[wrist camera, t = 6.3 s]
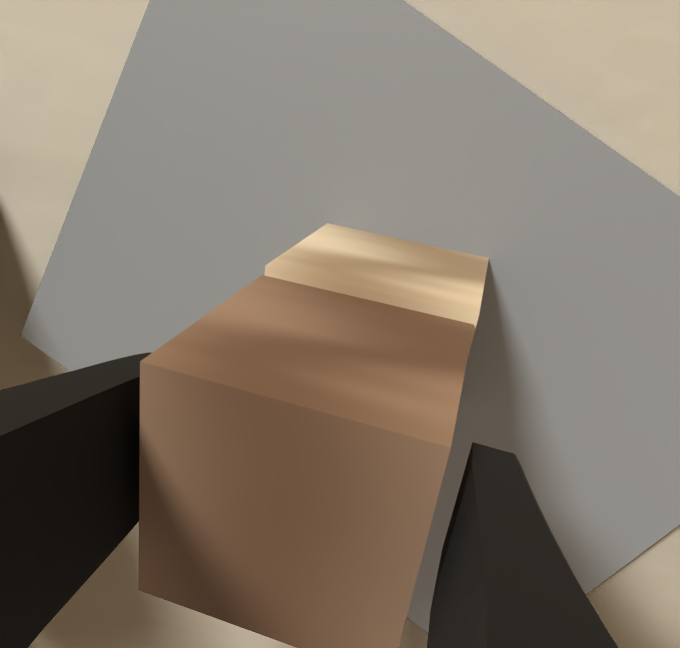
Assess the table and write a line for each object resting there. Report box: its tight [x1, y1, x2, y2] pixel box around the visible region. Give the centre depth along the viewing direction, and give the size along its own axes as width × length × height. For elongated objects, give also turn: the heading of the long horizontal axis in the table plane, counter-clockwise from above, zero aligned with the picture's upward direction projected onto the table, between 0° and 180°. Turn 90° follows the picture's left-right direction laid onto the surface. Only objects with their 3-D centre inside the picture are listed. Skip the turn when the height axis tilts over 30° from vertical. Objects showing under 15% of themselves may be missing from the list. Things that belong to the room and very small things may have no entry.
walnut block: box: [139, 275, 474, 648], centre depth 10 cm, size 4×4×4 cm
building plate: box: [20, 0, 680, 633], centre depth 16 cm, size 18×14×1 cm
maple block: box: [265, 223, 489, 356], centre depth 13 cm, size 4×4×4 cm
